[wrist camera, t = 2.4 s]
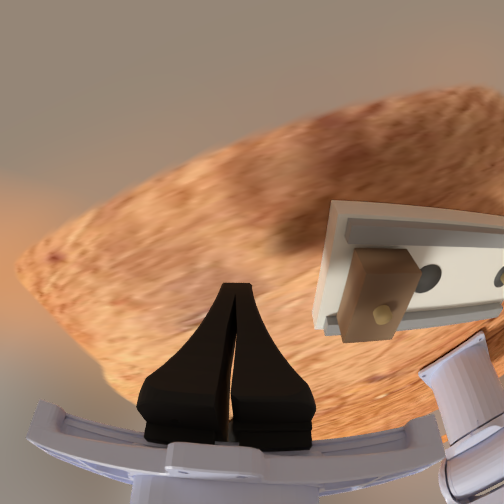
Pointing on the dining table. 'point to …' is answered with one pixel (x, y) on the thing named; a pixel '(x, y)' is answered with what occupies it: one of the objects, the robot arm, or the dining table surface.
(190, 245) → the dining table surface
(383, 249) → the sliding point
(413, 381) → the dining table surface
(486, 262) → the plate
